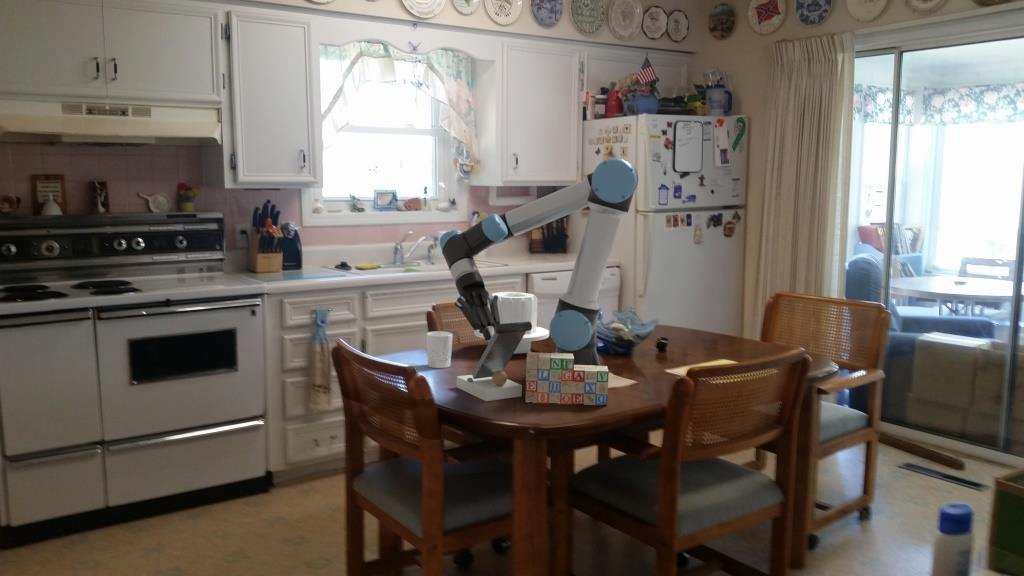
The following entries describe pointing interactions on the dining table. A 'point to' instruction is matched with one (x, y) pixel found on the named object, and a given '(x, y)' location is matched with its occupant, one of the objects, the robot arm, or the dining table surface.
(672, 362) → the dining table surface
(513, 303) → the ribbed cylinder on disc
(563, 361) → the stack of blocks
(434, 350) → the white cup
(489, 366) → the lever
